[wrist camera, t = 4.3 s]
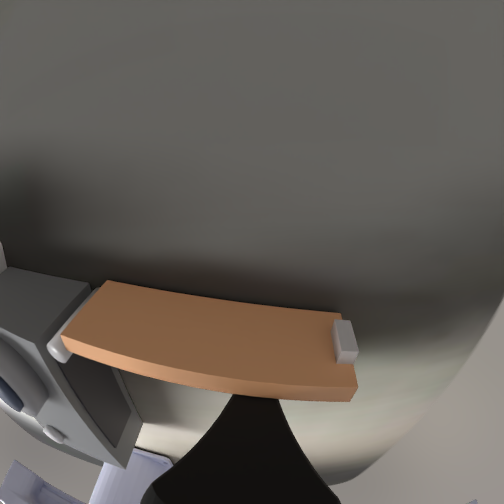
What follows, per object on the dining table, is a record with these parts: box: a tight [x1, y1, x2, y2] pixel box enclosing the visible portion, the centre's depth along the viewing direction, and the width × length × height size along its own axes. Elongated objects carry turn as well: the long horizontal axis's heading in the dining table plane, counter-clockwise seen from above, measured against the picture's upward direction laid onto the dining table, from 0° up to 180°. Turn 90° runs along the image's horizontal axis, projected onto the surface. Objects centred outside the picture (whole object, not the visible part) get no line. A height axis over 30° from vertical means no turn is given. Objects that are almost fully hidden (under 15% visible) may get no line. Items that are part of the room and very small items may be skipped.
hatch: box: [47, 280, 359, 402], centre depth 9 cm, size 11×2×4 cm, turn 85°
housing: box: [0, 266, 143, 470], centre depth 12 cm, size 13×7×6 cm, turn 177°
